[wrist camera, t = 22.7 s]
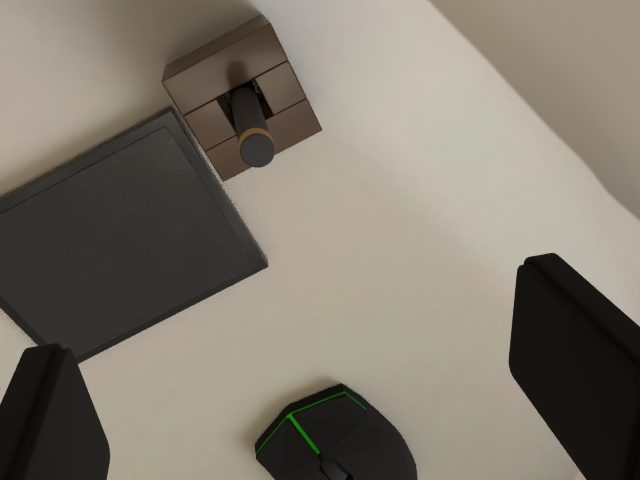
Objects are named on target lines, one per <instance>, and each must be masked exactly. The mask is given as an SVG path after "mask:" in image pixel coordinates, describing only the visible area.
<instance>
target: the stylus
mask: <svg viewBox="0 0 640 480" xmlns="http://www.w3.org/2000/svg"><path fill="white" fill-rule="evenodd" d="M229 95H230V100H231V106H232V111H233V117H234V122H235V128H236V133H237V139H238V147H239V153H240V156H241V158H242V160H243V161H244V162H245V163H246V164H247V165H249V166H251V167H263V166H266V165H267V164H269V163H270V162H271V161H272V159H273V157H274V155H275V145H274V142H273V139H272V137H271V135H270V132H269V129H268V126H267V124H266V121H265V118H264V115H263V112H262V110H261V107H260V104H259V101H258V98H257V96H256V93H255V90H254V87H253V84H252V82H251V80H249V81H247V82H245V83H243V84H242V85H240V86H238V87H236V88H234V89H232V90H230V91H229Z"/></svg>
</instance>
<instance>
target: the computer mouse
mask: <svg viewBox="0 0 640 480" xmlns="http://www.w3.org/2000/svg"><path fill="white" fill-rule="evenodd" d="M255 451H256V459H257V460H258V462H259V463H260V464H261V465H262V466H263V467H264V468H265V469H266V470H267V471H268V472H269V473H270V474H271V476H272V477H273V478H274V479H275V480H417V470H416V464H415V461H414V459H413V456H412V454H411V452H410V450H409V448H408V446H407V444H406V442H405V441H404V439H403V438H402V436H401V435H400V433H399V432H398V431H397V429H396V428H395V427H394V426H393V425H392V424H391V423H390V422H389V421H388V420H387V419H386V418H385V417H384V416H383V415H382V414H381V413H379V412H378V411H377V410H376V409H375V408H374V407H373V406H371V405H370V404H369V403H368V402H367V401H366V400H365V399H364V398H363V397H361V396H360V395H358V394H357V393H355V392H354V391H352V390H351V389H349V388H348V387H346V386H345V385H343V384H340V385H337V386H334V387H332V388H329V389H326V390H324V391H321V392H319V393H317V394H314V395H312V396H309V397H307V398H305V399H302V400H300V401H297V402H295V403H293V404H290V405H289V406H287V407H286V408H285V409H284V410H283V411H282V412H281V414H280V415H279V416H278V417H277V418H276V419H275V421H274V422H273V423H272V424H271V425H270V427H269V428H268V429H267V430H266V431H265V433H264V434H263V435H262V436H261V437H260V439H259V440H258V441H257V443H256V444H255Z"/></svg>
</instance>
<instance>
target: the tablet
mask: <svg viewBox="0 0 640 480" xmlns="http://www.w3.org/2000/svg"><path fill="white" fill-rule="evenodd" d="M267 267H268V261H267V259H266V257H265V255H264V254H263V252H262V251H261V249H260V247H259V246H258V244H257V243H256V241H255V239H254V238H253V236H252V235H251V233H250V231H249V230H248V228H247V227H246V225H245V223H244V222H243V220H242V219H241V217H240V215H239V214H238V212H237V211H236V209H235V207H234V206H233V204H232V203H231V201H230V199H229V198H228V196H227V195H226V193H225V191H224V190H223V188H222V187H221V185H220V183H219V182H218V180H217V179H216V177H215V175H214V174H213V172H212V171H211V169H210V167H209V166H208V164H207V163H206V161H205V159H204V158H203V156H202V155H201V153H200V151H199V150H198V148H197V147H196V145H195V143H194V142H193V140H192V139H191V137H190V135H189V134H188V132H187V131H186V129H185V127H184V126H183V124H182V123H181V121H180V119H179V118H178V116H177V115H176V113H175V111H174V110H173V108H172V107H171V108H169V109H167V110H165V111H163V112H161V113H159V114H157V115H156V116H154V117H152V118H150V119H148V120H146V121H144V122H143V123H141V124H139V125H137V126H135V127H133V128H131V129H129V130H128V131H126V132H124V133H122V134H120V135H118V136H116V137H114V138H113V139H111V140H109V141H107V142H105V143H103V144H101V145H99V146H98V147H96V148H94V149H92V150H90V151H88V152H86V153H84V154H83V155H81V156H79V157H77V158H75V159H73V160H71V161H69V162H68V163H66V164H64V165H62V166H60V167H58V168H56V169H54V170H53V171H51V172H49V173H47V174H45V175H43V176H41V177H39V178H38V179H36V180H34V181H32V182H30V183H28V184H26V185H24V186H23V187H21V188H19V189H17V190H15V191H13V192H11V193H9V194H8V195H6V196H4V197H2V198H0V308H1V309H2V310H3V311H4V312H5V313H6V314H7V315H8V316H9V317H10V318H11V319H12V320H13V321H14V322H15V323H16V324H17V325H18V326H19V327H20V328H21V329H22V330H23V331H24V332H25V333H26V334H27V335H28V336H29V337H30V338H31V339H32V340H33V341H34V342H35V343H36V344H37V345H38V346H41V345H47V344H53V343H59V344H60V345H61V347H62V349H66V348H70V349H71V350H72V352H73V354H74V356H75V359H76V361H77V364H79V363H81V362H83V361H85V360H87V359H89V358H91V357H93V356H94V355H96V354H98V353H100V352H102V351H104V350H106V349H108V348H110V347H112V346H114V345H116V344H118V343H120V342H122V341H124V340H126V339H128V338H130V337H132V336H134V335H136V334H138V333H140V332H141V331H143V330H145V329H147V328H149V327H151V326H153V325H155V324H157V323H159V322H161V321H163V320H165V319H167V318H169V317H171V316H173V315H175V314H177V313H179V312H181V311H183V310H185V309H187V308H188V307H190V306H192V305H194V304H196V303H198V302H200V301H202V300H204V299H206V298H208V297H210V296H212V295H214V294H216V293H218V292H220V291H222V290H224V289H226V288H228V287H230V286H232V285H234V284H235V283H237V282H239V281H241V280H243V279H245V278H247V277H249V276H251V275H253V274H255V273H257V272H259V271H261V270H263V269H265V268H267Z"/></svg>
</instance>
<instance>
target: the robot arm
mask: <svg viewBox="0 0 640 480" xmlns="http://www.w3.org/2000/svg"><path fill="white" fill-rule="evenodd" d="M509 368H510V371H511V374H512V376H513V377H514V379H515V380H516V382H517V383H518V385H519V386H520V387H521V389H522V390H523V392H524V393H525V394H526V396H527V397H528V399H529V400H530V401H531V403H532V404H533V406H534V407H535V408H536V410H537V411H538V413H539V414H540V415H541V417H542V418H543V420H544V421H545V422H546V424H547V425H548V426H549V428H550V429H551V431H552V432H553V433H554V435H555V436H556V438H557V439H558V440H559V442H560V443H561V445H562V446H563V447H564V449H565V450H566V452H567V453H568V454H569V456H570V457H571V459H572V460H573V461H574V463H575V464H576V466H577V467H578V468H579V470H580V471H581V473H582V474H583V475H584V477H585V478H586V479H587V480H640V327H639V326H638V325H637V324H636V323H635V322H634V321H633V320H631V319H630V318H629V317H628V316H627V315H626V314H625V313H623V312H622V311H621V310H620V309H619V308H618V307H617V306H615V305H614V304H613V303H612V302H611V301H610V300H609V299H607V298H606V297H605V296H604V295H603V294H602V293H601V292H599V291H598V290H597V289H596V288H595V287H594V286H593V285H591V284H590V283H589V282H588V281H587V280H586V279H585V278H583V277H582V276H581V275H580V274H579V273H578V272H577V271H575V270H574V269H573V268H572V267H571V266H570V265H569V264H567V263H566V262H565V261H564V260H563V259H562V258H561V257H559V256H558V255H557V254H555V253H549V254H543V255H538V256H532V257H528V258H526V260H525V261H524V265H521V266H519V267H518V270H517V278H516V288H515V299H514V309H513V320H512V330H511V341H510V352H509ZM109 463H110V449H109V444H108V441H107V438H106V436H105V433H104V431H103V428H102V426H101V423H100V420H99V418H98V415H97V413H96V410H95V408H94V405H93V402H92V400H91V397H90V395H89V392H88V390H87V387H86V385H85V382H84V379H83V377H82V374H81V372H80V369H79V367H78V364H77V361H76V359H75V356H74V354H73V352H72V350H71V349H70V348H66V349H62V347H61V345H60V344H59V343H53V344H47V345H41V346H36V347H30V348H27V349H25V350H24V352H23V354H22V356H21V358H20V361H19V363H18V365H17V368H16V370H15V372H14V374H13V377H12V379H11V381H10V384H9V386H8V388H7V390H6V393H5V395H4V397H3V400H2V402H1V404H0V480H107V474H108V468H109Z"/></svg>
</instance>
